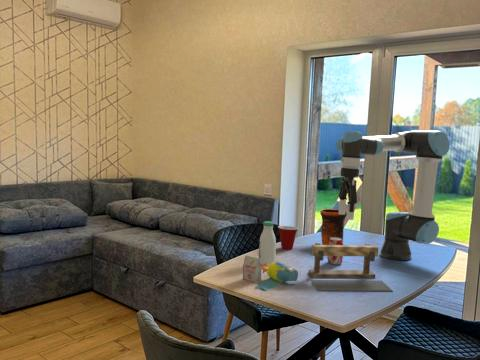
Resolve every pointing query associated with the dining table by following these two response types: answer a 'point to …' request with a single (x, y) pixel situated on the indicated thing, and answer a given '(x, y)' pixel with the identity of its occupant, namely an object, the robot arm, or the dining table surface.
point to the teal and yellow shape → (277, 275)
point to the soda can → (335, 259)
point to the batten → (344, 250)
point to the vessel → (331, 224)
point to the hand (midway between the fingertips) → (345, 217)
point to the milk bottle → (267, 244)
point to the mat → (351, 285)
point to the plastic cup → (287, 236)
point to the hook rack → (343, 273)
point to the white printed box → (252, 269)
